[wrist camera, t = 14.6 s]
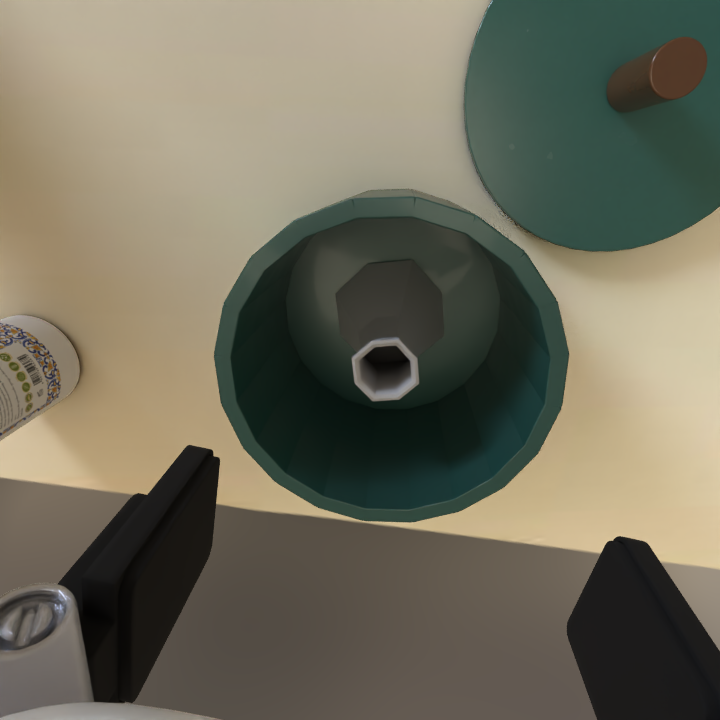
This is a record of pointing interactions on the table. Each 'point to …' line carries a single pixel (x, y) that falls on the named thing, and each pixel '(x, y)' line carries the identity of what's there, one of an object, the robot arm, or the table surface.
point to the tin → (435, 365)
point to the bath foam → (33, 370)
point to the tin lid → (597, 117)
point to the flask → (389, 325)
